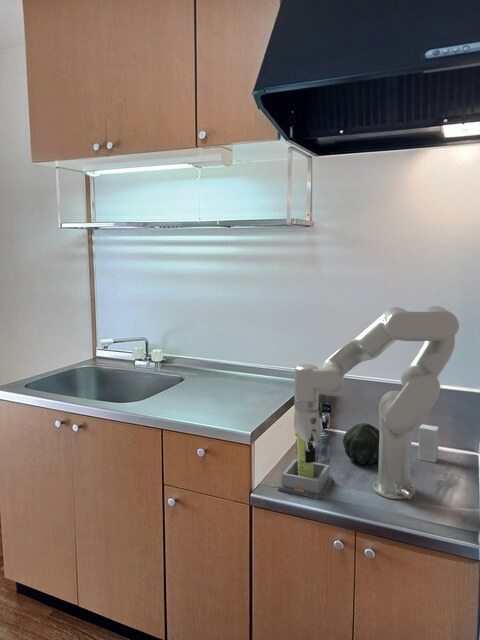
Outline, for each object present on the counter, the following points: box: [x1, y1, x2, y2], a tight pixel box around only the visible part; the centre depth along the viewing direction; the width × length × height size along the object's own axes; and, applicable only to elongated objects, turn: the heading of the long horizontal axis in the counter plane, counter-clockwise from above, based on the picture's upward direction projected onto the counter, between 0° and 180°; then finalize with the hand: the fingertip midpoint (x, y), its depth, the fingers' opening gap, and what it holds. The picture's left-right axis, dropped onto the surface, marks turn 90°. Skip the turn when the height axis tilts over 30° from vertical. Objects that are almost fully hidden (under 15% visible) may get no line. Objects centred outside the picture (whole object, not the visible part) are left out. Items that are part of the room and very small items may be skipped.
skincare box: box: [417, 424, 440, 463], centre depth 177 cm, size 6×4×12 cm
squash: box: [342, 422, 380, 465], centre depth 177 cm, size 14×15×15 cm
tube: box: [296, 428, 315, 478], centre depth 159 cm, size 6×5×20 cm
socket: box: [277, 458, 334, 499], centre depth 160 cm, size 14×14×5 cm
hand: (305, 457), depth 159 cm, fingers closed on tube, 5 cm apart
